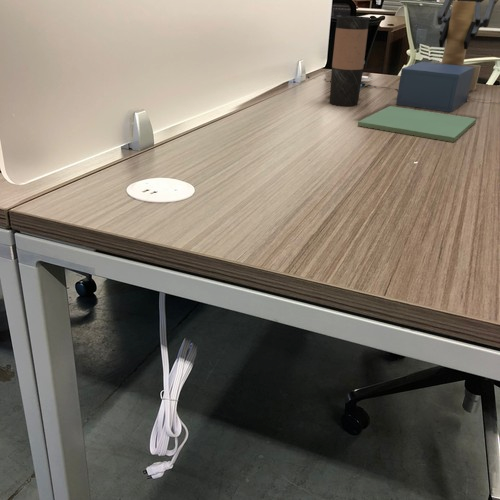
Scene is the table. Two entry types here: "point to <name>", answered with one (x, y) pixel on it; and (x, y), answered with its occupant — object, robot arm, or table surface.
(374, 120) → the mat
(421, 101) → the cabinet
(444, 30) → the robot arm
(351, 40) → the travel mug
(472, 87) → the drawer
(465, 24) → the pepper mill
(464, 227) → the table surface
